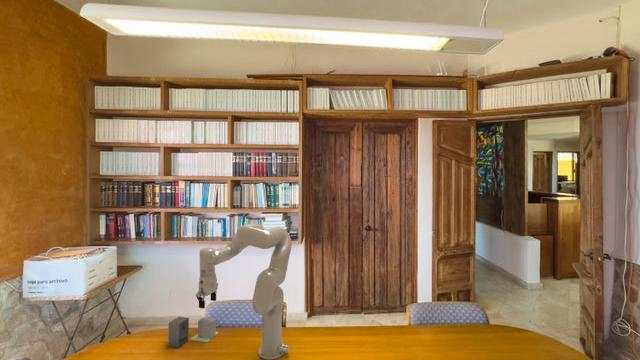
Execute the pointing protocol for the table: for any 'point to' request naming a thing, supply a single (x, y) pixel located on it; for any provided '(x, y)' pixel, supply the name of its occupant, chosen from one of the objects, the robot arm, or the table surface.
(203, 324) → the medicine box
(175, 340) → the block
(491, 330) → the table surface
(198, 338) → the pad
